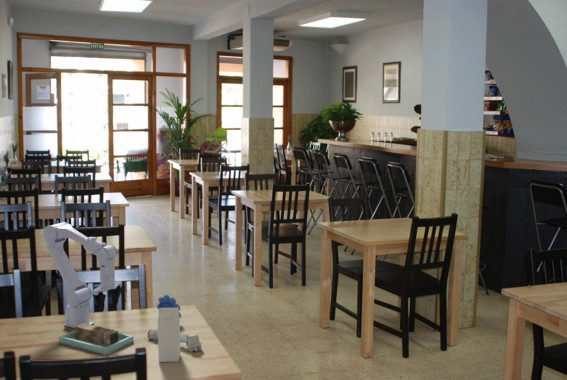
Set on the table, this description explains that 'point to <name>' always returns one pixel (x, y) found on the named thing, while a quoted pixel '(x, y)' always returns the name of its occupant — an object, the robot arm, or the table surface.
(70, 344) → the tray
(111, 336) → the walnut strut
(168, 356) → the milk carton
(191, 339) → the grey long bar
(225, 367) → the table surface
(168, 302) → the grapes
